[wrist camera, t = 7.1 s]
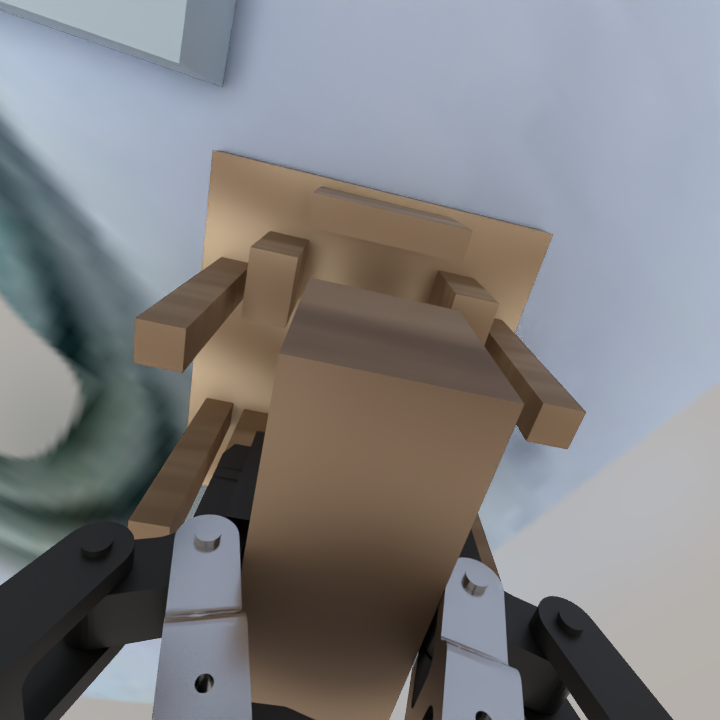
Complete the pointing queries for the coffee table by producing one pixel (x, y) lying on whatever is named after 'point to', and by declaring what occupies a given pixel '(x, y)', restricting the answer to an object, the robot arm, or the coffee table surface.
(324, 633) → the tan wooden beam
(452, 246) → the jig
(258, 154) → the coffee table surface
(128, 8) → the gray rectangular block
